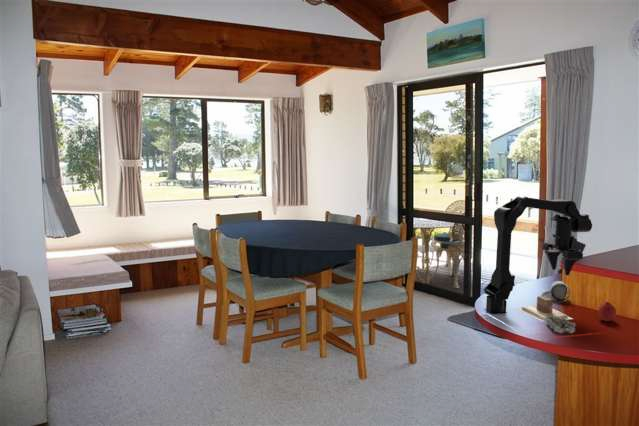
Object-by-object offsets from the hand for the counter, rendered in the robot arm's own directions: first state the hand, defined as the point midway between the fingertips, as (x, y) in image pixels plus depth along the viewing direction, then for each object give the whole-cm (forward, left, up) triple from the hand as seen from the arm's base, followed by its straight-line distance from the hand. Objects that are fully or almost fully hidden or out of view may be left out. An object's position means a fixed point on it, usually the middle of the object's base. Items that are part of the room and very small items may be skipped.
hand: (560, 272), depth 213 cm
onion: (+6, -18, -14) cm, 24 cm away
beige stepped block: (-11, -6, -14) cm, 19 cm away
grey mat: (-11, -6, -14) cm, 19 cm away
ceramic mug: (+7, +11, -15) cm, 19 cm away
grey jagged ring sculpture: (-16, -22, -15) cm, 30 cm away
